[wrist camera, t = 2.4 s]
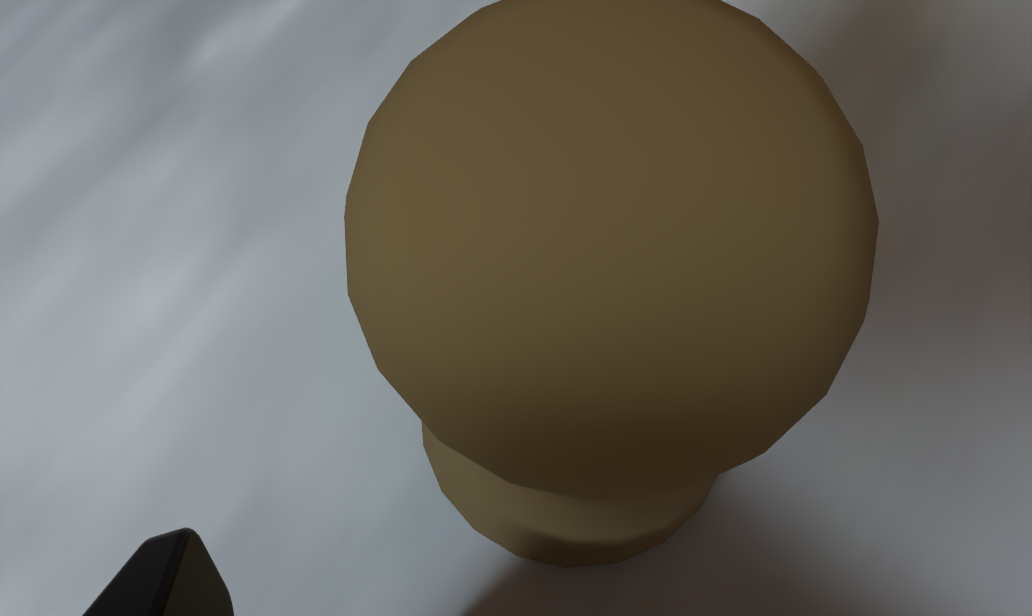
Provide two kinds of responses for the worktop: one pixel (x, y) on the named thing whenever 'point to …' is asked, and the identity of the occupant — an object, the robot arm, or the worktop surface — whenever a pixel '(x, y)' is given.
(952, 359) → the worktop surface
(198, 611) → the robot arm
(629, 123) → the cork
